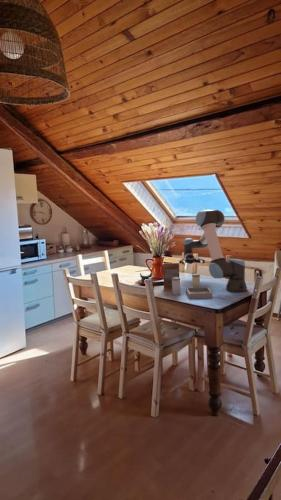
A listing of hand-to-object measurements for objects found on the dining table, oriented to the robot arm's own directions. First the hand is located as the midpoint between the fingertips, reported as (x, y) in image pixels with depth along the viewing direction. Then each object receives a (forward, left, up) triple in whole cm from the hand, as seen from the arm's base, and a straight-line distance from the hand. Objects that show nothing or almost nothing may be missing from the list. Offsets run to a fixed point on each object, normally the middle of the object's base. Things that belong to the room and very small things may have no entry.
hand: (193, 263), depth 271 cm
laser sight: (+35, +12, -19) cm, 41 cm away
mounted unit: (+13, +13, -18) cm, 26 cm away
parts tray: (-12, +20, -18) cm, 30 cm away
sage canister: (-5, +9, -18) cm, 21 cm away
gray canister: (+3, +26, -18) cm, 32 cm away
